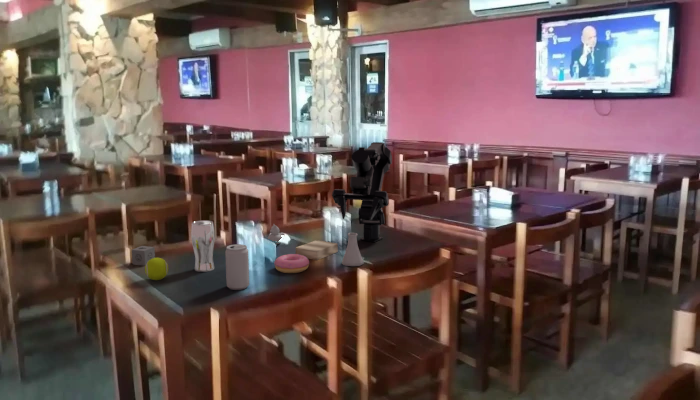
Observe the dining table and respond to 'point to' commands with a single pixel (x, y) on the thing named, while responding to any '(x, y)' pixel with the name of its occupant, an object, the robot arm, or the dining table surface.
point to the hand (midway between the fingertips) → (356, 219)
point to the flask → (352, 252)
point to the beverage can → (237, 267)
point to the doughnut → (291, 263)
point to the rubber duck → (275, 234)
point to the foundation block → (317, 249)
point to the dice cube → (142, 255)
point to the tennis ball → (156, 268)
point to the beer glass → (203, 245)
